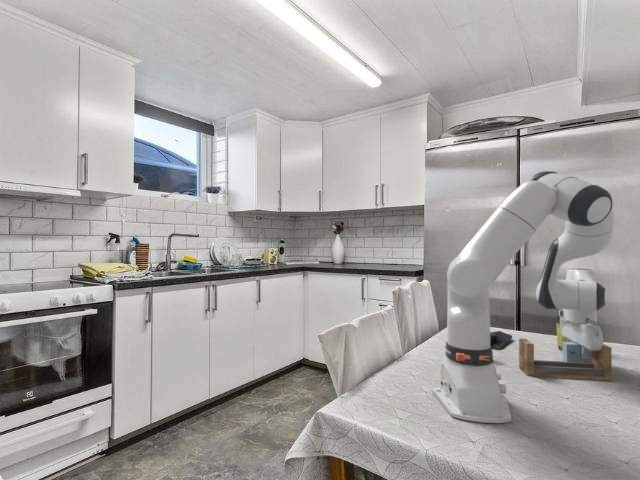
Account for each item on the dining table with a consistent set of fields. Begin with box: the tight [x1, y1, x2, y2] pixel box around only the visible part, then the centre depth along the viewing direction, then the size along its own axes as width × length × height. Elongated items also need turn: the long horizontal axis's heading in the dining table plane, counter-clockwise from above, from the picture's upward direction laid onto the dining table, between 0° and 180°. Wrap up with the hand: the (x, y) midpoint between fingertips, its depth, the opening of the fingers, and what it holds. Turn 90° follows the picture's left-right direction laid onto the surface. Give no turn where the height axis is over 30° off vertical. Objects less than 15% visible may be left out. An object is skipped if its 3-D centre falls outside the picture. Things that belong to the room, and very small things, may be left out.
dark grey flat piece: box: [490, 330, 513, 351], centre depth 154 cm, size 15×22×5 cm
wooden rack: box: [518, 337, 613, 382], centre depth 116 cm, size 8×24×10 cm, turn 80°
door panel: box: [562, 342, 592, 363], centre depth 122 cm, size 4×10×8 cm, turn 80°
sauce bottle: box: [556, 309, 571, 351], centre depth 142 cm, size 7×6×20 cm
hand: (580, 356), depth 123 cm, fingers closed on door panel, 3 cm apart
